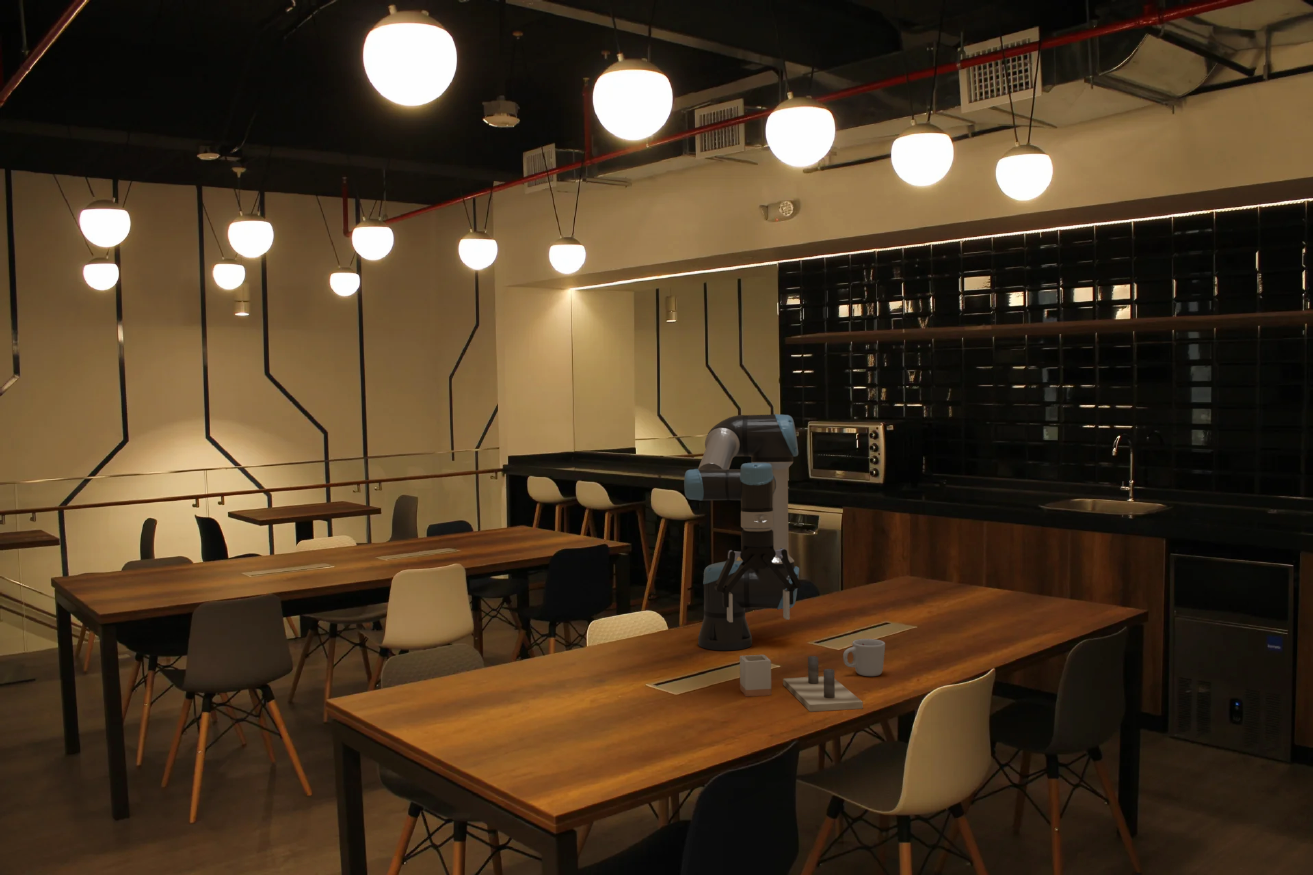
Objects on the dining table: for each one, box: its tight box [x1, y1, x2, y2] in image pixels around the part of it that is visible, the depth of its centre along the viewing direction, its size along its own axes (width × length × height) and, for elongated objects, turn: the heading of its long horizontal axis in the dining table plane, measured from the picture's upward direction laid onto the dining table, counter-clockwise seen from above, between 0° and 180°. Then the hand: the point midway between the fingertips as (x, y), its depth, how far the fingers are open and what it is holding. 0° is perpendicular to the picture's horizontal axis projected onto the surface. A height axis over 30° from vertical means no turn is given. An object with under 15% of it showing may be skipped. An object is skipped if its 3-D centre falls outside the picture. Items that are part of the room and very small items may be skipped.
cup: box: [842, 638, 886, 677], centre depth 248 cm, size 11×8×8 cm
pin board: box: [782, 655, 864, 712], centre depth 230 cm, size 22×12×8 cm, turn 8°
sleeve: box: [739, 654, 772, 697], centre depth 234 cm, size 6×6×8 cm
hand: (758, 619), depth 233 cm, fingers open, 13 cm apart
